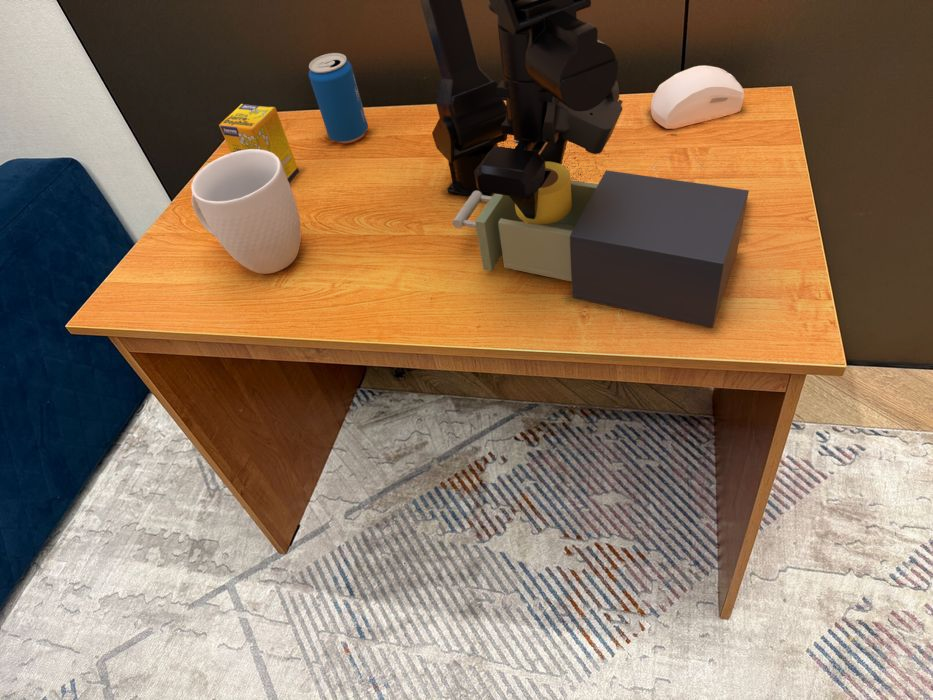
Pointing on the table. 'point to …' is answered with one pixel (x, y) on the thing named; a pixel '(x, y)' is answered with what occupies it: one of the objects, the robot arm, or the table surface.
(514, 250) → the drawer
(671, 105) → the computer mouse
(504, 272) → the table surface
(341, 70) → the beverage can
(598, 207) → the cabinet
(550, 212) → the tape
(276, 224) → the mug
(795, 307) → the table surface
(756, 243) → the table surface
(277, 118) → the supplement box
